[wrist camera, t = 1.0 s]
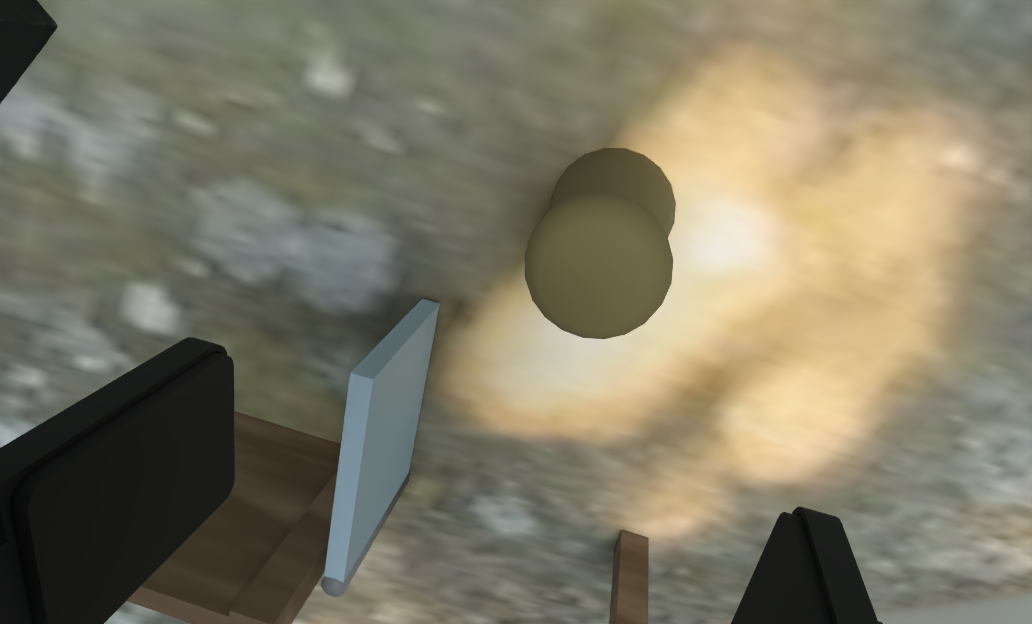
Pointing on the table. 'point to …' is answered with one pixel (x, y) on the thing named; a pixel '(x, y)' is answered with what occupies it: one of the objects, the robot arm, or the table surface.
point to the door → (377, 441)
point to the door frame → (296, 540)
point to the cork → (603, 245)
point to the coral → (21, 38)
